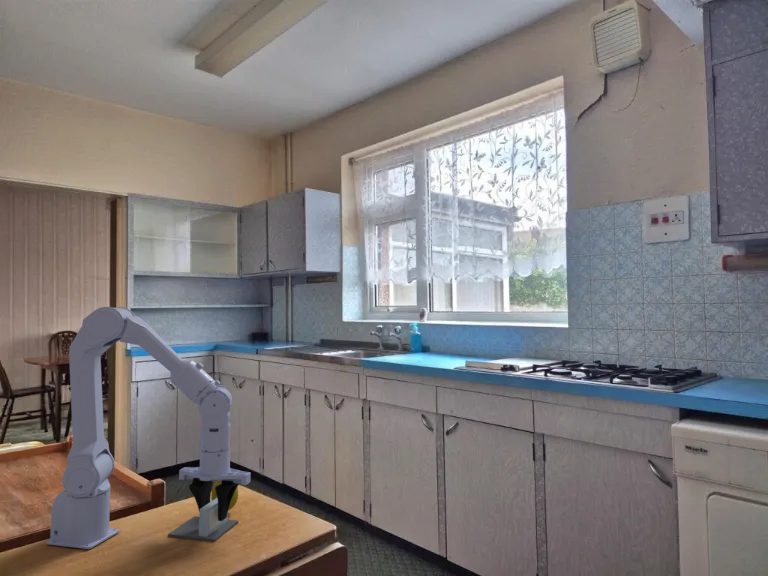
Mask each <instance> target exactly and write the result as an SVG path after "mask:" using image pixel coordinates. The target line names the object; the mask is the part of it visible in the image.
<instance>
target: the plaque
mask: <svg viewBox="0 0 768 576" xmlns="http://www.w3.org/2000/svg"><path fill="white" fill-rule="evenodd" d="M198 512H199V513H198V515H199V516H198V517H199V536H203V537H207V536H208V535H209V534H211V533H212V532H213V531H215V530H216V529H217V528H218V527H220V526H221V525H222V524H224V523H225V522H226V521H227V520H229V519H228V518H229V517H228V516H229V515H228V513H229V512H228V513H227V518H225V519H224V520H223V521H218V499H217V498H216V499H214V500H213V501H212V500H210V503H208V504H207V505H205V506H204V507H202V508H201V509H198Z"/></svg>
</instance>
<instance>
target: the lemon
mask: <svg viewBox="0 0 768 576" xmlns="http://www.w3.org/2000/svg"><path fill="white" fill-rule="evenodd" d="M220 484H222V482H216V481H214V484H213V485H212V489H211V496H210V500H211V501H213V500H214V499H216V498H217V494H216V490H215V487H216V486H218V485H220ZM238 497H239V488H238V486H237V488H236V490H235V492H234V494H233V497H232V499H231V502H230V505H229V509H228V511H230V510H231V509H233V508H234V507H235V506H236V504H237V503H238V502H237V501H238V499H239V498H238Z"/></svg>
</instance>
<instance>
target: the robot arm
mask: <svg viewBox="0 0 768 576" xmlns="http://www.w3.org/2000/svg"><path fill="white" fill-rule="evenodd" d="M117 342H120V343H123V344H124V343H125V344H131V345H137V346H139V347H140V348H142V349H143V350H144V351H145V352H146V353H147V354H149V355H150V356H151V357H152V358H153V359H155V360H156V361H157V362H158V363H159V364H160V365H161V366H163V367H164V368H166V370H168V371H169V373H170V382H171V384H173V385H174V386H175V387H176V388H177V389H178V390H179V391H180V392H181V393H182V394H184V395H185V396H186V397H187V398H188V399H190V401H191V402H192V403H193V404H197V405H198V407H197V408H198V410H199V414H201V425H200V445H199V448H200V449H199V466H197V467H193V466H192V467H190V466H188V467H186V466H185V467H183V468H181V469H179V471H178V474H179V475H178V477H179V478H178V480H181V481H183V480H192V482H191V483H190V484H189V485H188V489H189V491H190V492H191V494H192V495H193V497H194V499H195V503H196V506H197V508H198V510H199V509H201V508H202V507H204V506H205V505H207V504H208V503H210V502H211V494H212V489H213V485H214V484H213V483H214V482H222V484H220V485H218V486H216V487H215V490H216V494H217V499H218V521H223V520H224V519H225V518H227V513H229V512H228V511H229V510H228V509H229V505H230V502H231V499H232V497H233V494H234V492H235V490H236V488H237V487H238V486H239V484H241V486H247V485H248V484H250V482H251V473H252V472H249V471H243V470H239V469H234V468H231V437H232V436H231V433H232V432H231V429H232V427H231V426H232V425H231V423H230V422H231V412H230V410H231V407H232V404H233V396H232V394H231V392H230V391H229V388H228V387H227V386H225V385H221V382H220V380H219V379H216V380H215V379H214V378H213V377H212V376H211V375H210V374H209V373H207V371H205V370H204V369H203V368H204V364H202V362H200V361H199V362H196V361H194V360H193V359H187V360H186V359H183V358H182V357H180V355H178V353H177V352H176V351H175V350H174V349H173V348H172V347H171V346H170V345H169V344H168V343H167V342H166V341H165V340H164V339H163V338H162V337H161V336H160V335H159V334H158V333H157V332H156V331H155V330H154V329H153V328H152V327H151V326H150V325H149V324H148V323H147V322H146V321H145V320H144V319H142V318H141V317H140V316H138V315H137V316H136V315H135V313H134V312H133V311H132V310H131V309H129V308H128V307H125V306H118V307H112V306H102V307H98V308H97V309H95V310H93V311H92V312H90V313H89V314H88V315H87V316H86V317H84V318H83V319H82V323H81V327H80V329H79V330H78V332H77V334H76V335H75V337H74V339H73V340H72V342H71V343H70V345H69V349H68V355H69V356H68V357H69V358H68V360H69V361H68V362H69V363H68V364H69V383H70V403H71V404H70V406H71V409H70V410H71V430H72V431H71V432H72V445H71V447H70V449H69V452H68V455H67V457H66V462H67V463H66V464H67V465H66V468H65V471H64V473H63V475H62V481H61V483H62V487H63V489H64V490H62V491H60V492H59V493H58V494H57V495H56V496H55V498H54V500H53V502H52V505H51V510H50V534H49V535H50V536H49V538H50V539H49V540H46V542H45V543H46V545H51V546H58V547H59V546H60V547H65V548H67V547H68V548H75V549H76V548H77V549H82V550H84V549H85V550H91V549H93V548H94V547H96V546H98V545H99V544H101V543H103V542H105V541H106V540H108V539H110V538H111V537H113V536H115V535H117V534H119V533H120V530H121V529H119V528H113V527H110V515H111V514H110V509H111V506H110V505H111V487H112V486H111V483H110V482H109V477H110V476H111V475H112V473H113V472H114V470H115V465H116V464H115V463H116V462H115V458H114V457H113V455H112V453H111V452H110V447H109V446H110V445H109V441H108V440H107V439H106V436H105V427H104V406H103V405H104V404H103V403H104V402H103V387H102V386H103V385H102V384H103V383H102V363H101V359H102V358H101V356H102V355H103V354H105V352H106V351H107V350H109V349H110V348H111V347H112V346H113V345H114V344H115V343H117Z"/></svg>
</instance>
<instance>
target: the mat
mask: <svg viewBox="0 0 768 576" xmlns="http://www.w3.org/2000/svg"><path fill="white" fill-rule="evenodd" d="M238 523H239V520H237V519H236V520H235V519H228V520H227V521H226V522H225V523H224V524H222V525H221V526H220V527H218V528H217V529H216V530H215V531H213V532H212V533H211V534H209V535H208V536H207V537H203V536H199V516H197V515H194V516H192V517H191V518H190V519H188V520H186V521H185V522H184V523H182V524H181V525H180V526H178V527H177V528H175V529H173V530H172V531H171V532H169V533H168V534H167V536H168V537H171V538H180V539H187V540H188V539H190V540H198V541H200V540H201V541H205V542H206V541H209V542H216V541H218V540H219V539H220V538H222V537H223V535H225V534H226V533H227V532H229V531H230V530H232V528H234V527H235V526H236V525H237V524H238Z"/></svg>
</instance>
